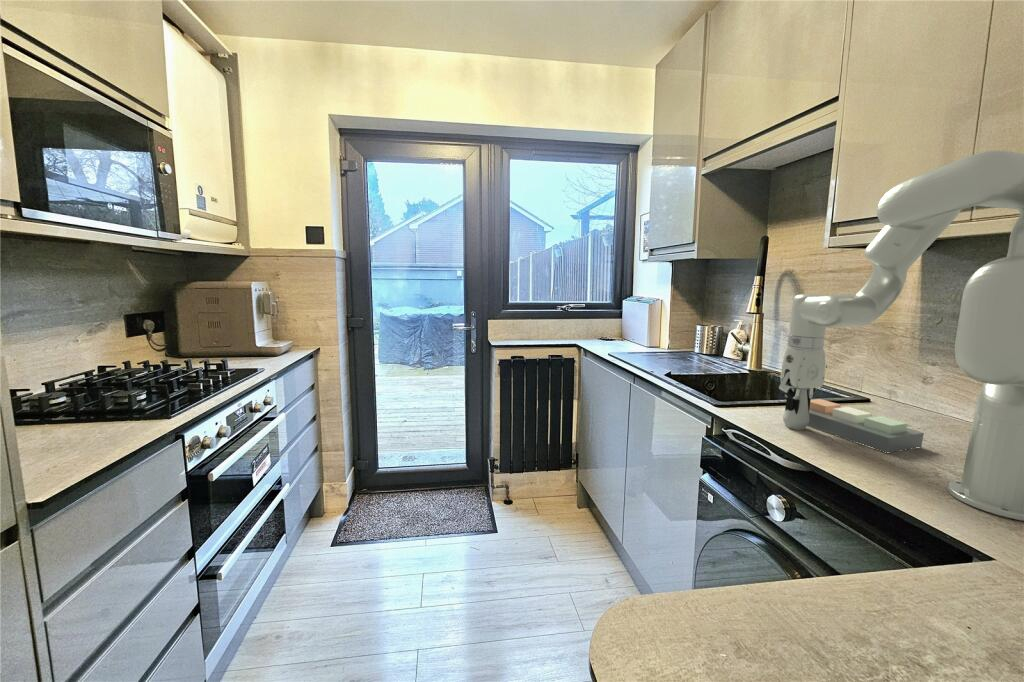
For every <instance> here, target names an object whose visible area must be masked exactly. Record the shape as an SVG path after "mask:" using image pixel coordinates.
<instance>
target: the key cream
mask: <svg viewBox="0 0 1024 682" xmlns="http://www.w3.org/2000/svg"><path fill="white" fill-rule="evenodd" d="M872 415H873V414H872V413H871V412H867V411H864V410H862V409H861V410H860V409H859V408H858V409H857V408H854V407H850V406H845V407H844V406H843V407H841V408H834V409H833V413H832V417H835V418H839V419H842V420H845V421H848V422H851V423H855V424H858V423H864V420H865V418H869V417H873V416H872Z"/></svg>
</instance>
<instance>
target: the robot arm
mask: <svg viewBox="0 0 1024 682" xmlns="http://www.w3.org/2000/svg"><path fill="white" fill-rule="evenodd" d="M972 207H986V208H987V207H988V208H1001V209H1011V210H1016V211H1018V212H1019V216H1018V218H1017V219H1016V222H1015V223H1014V225H1013V227H1012V229H1011V232H1010V235H1009V243H1008V251H1007V254H1006V256H1005V257H1000V258H998V259H995V260H992V261H990V262H987V263H986V264H984V265H982V266H981V267H979V268H978V269H976V271H975V272H973V274H972V275H971V276H970V278H969V279H968V281H967V283H966V284H965V287H964V288H963V291H962V292H963V293H962V298H961V304H960V310H959V316H958V325H957V329H956V336H955V342H954V343H955V344H954V356H955V361H956V363H957V364H956V365H958V367H959V369H960V370H961V371H962V372H963V374H965V376H968V377H969V378H971V379H973V380H974V381H977V382H979V383H982V387H981V389H980V391H979V394H978V397H977V400H976V406H975V411H974V415H973V420H972V426H971V429H970V435H969V439H968V444H967V445H968V446H967V452H966V455H965V462H964V466H963V471H962V476H961V477H962V478H961V479H959V480H953V481H950V482H949V483H948V485H947V491H948V493H949V494H950V495H951V496H953V498H955V499H957V500H959V501H960V502H963V503H965V504H966V505H969V506H971V507H972V508H973V507H974V508H976V509H979V510H981V511H984V512H987V513H989V514H993V515H996V516H1000V517H1004V518H1006V519H1007V518H1008V519H1011V520H1017V521H1022V522H1024V153H1021V152H1015V151H1007V150H990V151H989V150H988V151H983V152H977V153H974V154H972V155H969V156H966V157H963V158H960V159H958V160H955V161H952V162H950V163H947V164H945V165H943V166H939V167H937V168H935V169H931V170H929V171H926V172H923V173H921V174H920V175H916V176H914V177H912V178H908V179H906V180H904V181H902V182H900V183H898V184H896V185H895V186H893V187H892V188H890V189H889V190H888V191H886V192H885V194H884V195H883V196H882V197H881V198H880V201H879V202H878V205H877V208H876V216H877V218H878V220H879V221H880V223H882V224H884V226H883V227H882V228H881V230H880V231H879V232H878V234H876V236H875V237H874V238H873V240H871V242H870V243H869V244H868V245H867V246H866V248H865V249H864V255H865V256H864V257H865V259H867V260H868V262H870V263H871V264H872V273H871V276H870V277H869V279H868V280H867V281H866V283H865V284H864V285H863V287H861V289H860V290H858V292H857V293H856V294H831V295H828V294H827V295H824V294H817V293H816V294H814V293H813V294H812V293H810V294H809V293H803V294H802V293H800V294H797V295H795V296H794V297H793V299H792V306H791V315H790V321H789V330H788V331H789V332H788V341H787V347H786V349H785V353H784V356H783V361H782V364H781V365H782V366H781V369H780V370H781V372H780V384H779V386H778V389H779V390H780V391H782V392H783V393H784V397H786V400H785V408H784V409H785V410H784V412H785V411H786V410H789V411H792V410H795V413H796V414H797V413H798V410H799V403H800V400H798V396H799V391H800V389H806V388H809V389H807V399H808V412H809V408H810V400H812V398H813V396H814V393H815V392H816V391H817V390H818V389H819V388H821V387H822V386H823V385H824V384H825V376H826V353H825V351H826V350H825V349H824V346H825V336H826V328H846V327H847V328H849V327H850V328H853V327H855V328H856V327H864V326H867V325H870V324H872V323H873V322H876V321H877V320H878V319H879V318H880V317H881V316H882V315H883V314H884V313H885V312H886V311H887V310H888V309H889V308H890V307H891V306H892V305H893V304H894V303H895V302H896V300H897V299H898V298H899V296H900V295H901V293H902V291H903V289H904V286H905V283H906V280H907V276H908V271H909V269H910V268H911V267H912V265H913V264H915V262H916V261H917V260H918V259H919V258H920V257H921V256H922V255H923V254H924V252H925V251H926V250H927V249H928V248H929V247H930V246H931V245H932V244H933V243H934V242H935V241H936V240H937V238H939V236H940V235H941V234H943V232H944V231H945V230H947V228H948V227H949V226H950V225H951V224H952V223H953V222H954V221H955V219H956V218H957V217H958V216H959V214H960V212H961V211H962V210H965V209H968V208H972ZM791 385H792V386H791ZM792 389H795V390H794V392H793V390H792Z"/></svg>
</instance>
